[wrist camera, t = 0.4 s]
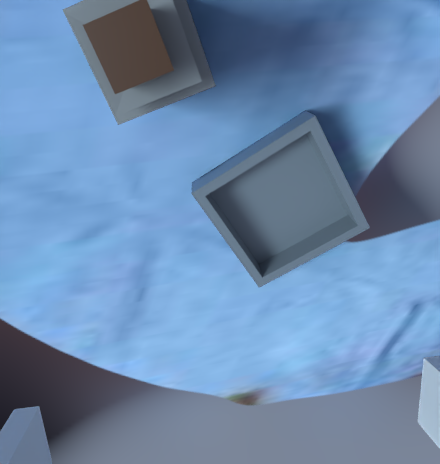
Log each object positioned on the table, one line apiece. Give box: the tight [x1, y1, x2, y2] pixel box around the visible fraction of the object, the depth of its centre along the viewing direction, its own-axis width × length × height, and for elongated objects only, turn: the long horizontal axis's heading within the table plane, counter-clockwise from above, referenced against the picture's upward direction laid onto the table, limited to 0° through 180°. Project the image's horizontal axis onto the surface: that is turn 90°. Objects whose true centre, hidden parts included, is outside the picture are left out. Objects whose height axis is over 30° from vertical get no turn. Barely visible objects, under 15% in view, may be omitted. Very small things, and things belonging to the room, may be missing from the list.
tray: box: [191, 111, 370, 287], centre depth 39 cm, size 14×14×4 cm
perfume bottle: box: [63, 0, 215, 125], centre depth 25 cm, size 7×7×18 cm
